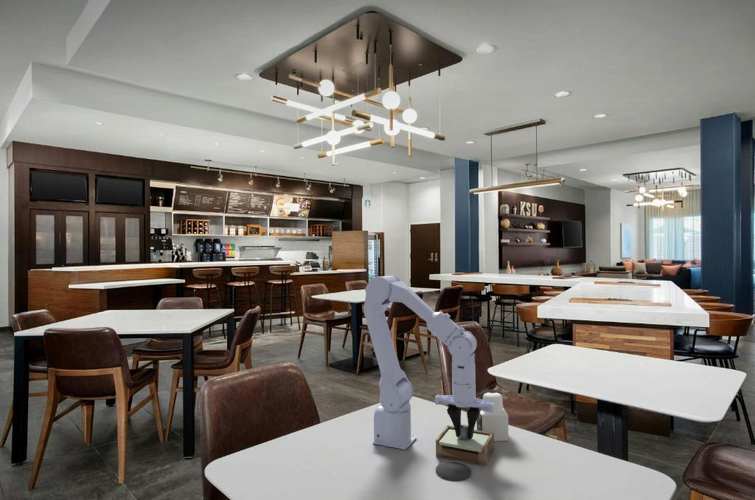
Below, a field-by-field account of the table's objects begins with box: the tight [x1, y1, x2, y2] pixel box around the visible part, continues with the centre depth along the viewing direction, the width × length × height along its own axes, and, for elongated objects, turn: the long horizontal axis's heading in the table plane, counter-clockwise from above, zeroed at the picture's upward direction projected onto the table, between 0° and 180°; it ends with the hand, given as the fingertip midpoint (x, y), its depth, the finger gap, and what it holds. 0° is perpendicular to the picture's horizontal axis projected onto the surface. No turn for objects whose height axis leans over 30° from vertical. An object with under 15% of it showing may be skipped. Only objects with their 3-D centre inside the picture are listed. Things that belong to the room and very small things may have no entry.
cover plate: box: [439, 424, 489, 452], centre depth 110 cm, size 9×10×4 cm
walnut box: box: [435, 424, 495, 467], centre depth 110 cm, size 10×12×4 cm
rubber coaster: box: [435, 461, 472, 482], centre depth 101 cm, size 8×8×1 cm
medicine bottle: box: [476, 389, 510, 442], centre depth 120 cm, size 7×7×12 cm
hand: (464, 436), depth 110 cm, fingers closed on cover plate, 2 cm apart
